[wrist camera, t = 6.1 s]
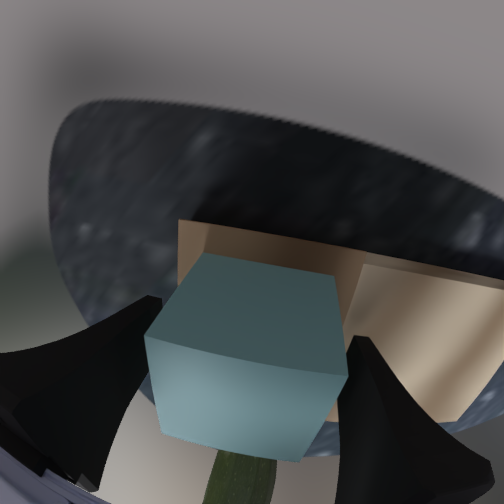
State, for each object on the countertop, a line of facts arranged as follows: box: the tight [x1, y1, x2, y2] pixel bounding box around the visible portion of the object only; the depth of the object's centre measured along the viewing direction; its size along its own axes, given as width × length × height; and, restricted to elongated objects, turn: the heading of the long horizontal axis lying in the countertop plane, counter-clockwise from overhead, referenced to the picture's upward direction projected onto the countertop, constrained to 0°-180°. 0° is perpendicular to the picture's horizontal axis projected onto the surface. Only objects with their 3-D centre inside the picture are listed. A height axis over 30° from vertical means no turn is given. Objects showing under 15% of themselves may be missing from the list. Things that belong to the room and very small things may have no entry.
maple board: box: [178, 219, 504, 423], centre depth 13 cm, size 18×10×1 cm, turn 83°
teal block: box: [144, 252, 348, 462], centre depth 10 cm, size 5×5×5 cm
